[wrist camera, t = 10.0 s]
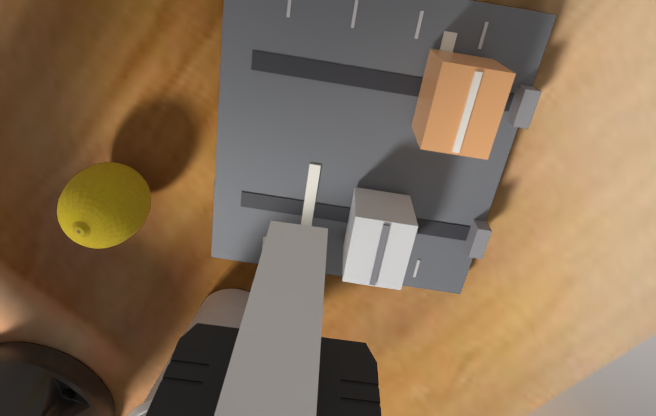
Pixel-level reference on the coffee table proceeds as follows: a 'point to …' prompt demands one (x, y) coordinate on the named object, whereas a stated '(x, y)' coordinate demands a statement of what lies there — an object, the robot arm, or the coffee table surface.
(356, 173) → the console
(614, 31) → the coffee table surface
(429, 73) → the fader orange
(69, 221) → the lemon
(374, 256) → the fader grey
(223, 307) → the coffee cup
